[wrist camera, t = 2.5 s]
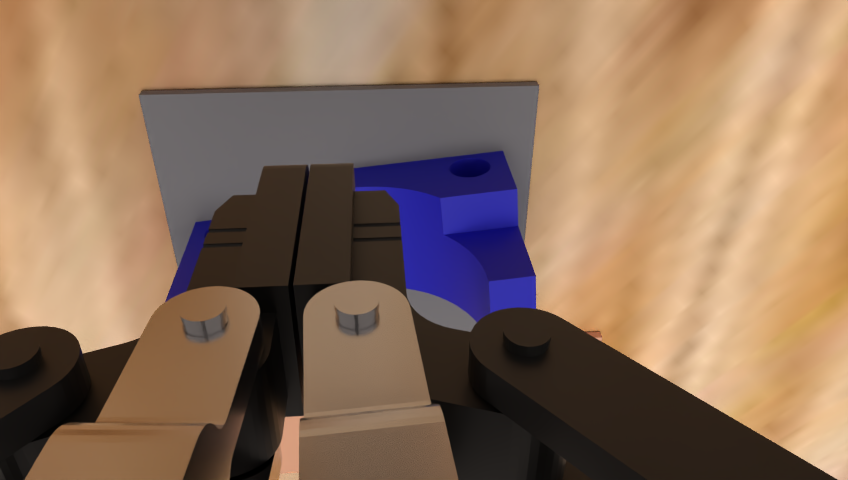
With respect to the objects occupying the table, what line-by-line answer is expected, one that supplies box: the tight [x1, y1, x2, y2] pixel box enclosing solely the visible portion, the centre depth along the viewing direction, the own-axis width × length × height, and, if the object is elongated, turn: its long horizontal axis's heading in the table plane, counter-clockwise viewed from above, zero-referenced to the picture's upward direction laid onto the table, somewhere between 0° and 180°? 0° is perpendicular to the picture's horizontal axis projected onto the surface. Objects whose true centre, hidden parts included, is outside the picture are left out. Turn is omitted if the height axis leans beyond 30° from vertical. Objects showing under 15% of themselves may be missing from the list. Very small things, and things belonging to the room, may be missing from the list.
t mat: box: [139, 82, 602, 473], centre depth 30 cm, size 20×22×1 cm
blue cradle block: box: [165, 151, 536, 322], centre depth 25 cm, size 12×4×6 cm, turn 95°
